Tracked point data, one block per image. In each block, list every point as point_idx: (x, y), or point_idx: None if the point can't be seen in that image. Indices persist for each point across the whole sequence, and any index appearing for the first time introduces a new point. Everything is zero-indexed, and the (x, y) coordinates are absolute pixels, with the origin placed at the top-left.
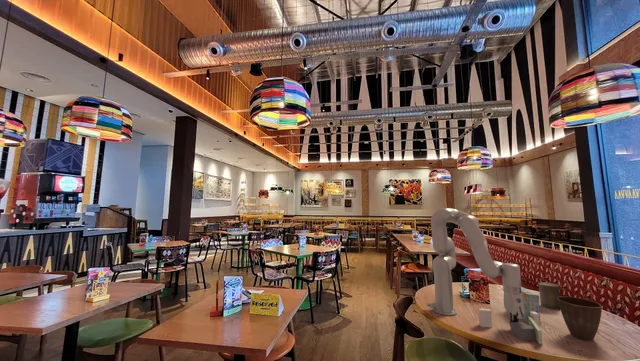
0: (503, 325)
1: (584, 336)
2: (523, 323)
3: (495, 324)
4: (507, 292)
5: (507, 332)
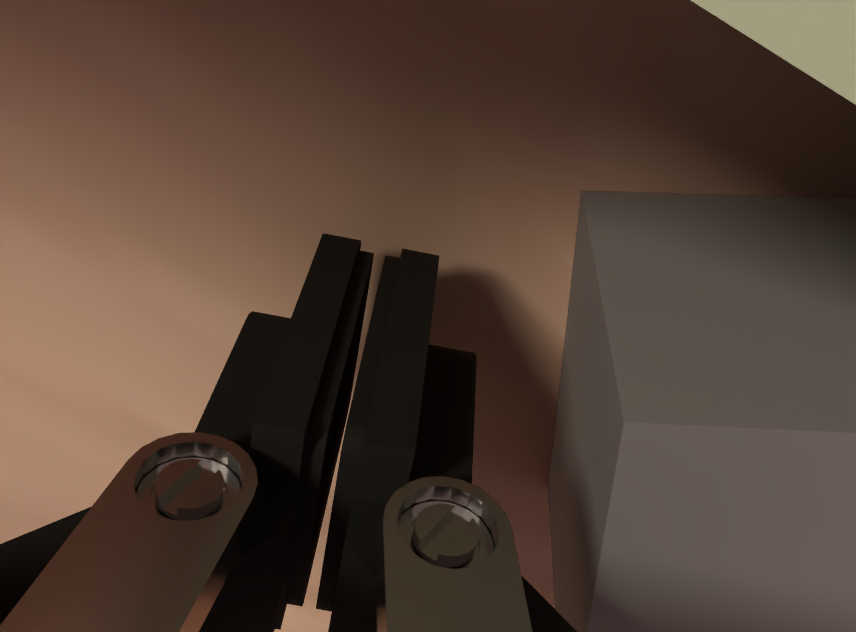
0: (81, 370)
1: None
2: (762, 488)
3: (65, 500)
4: None
5: (519, 542)
